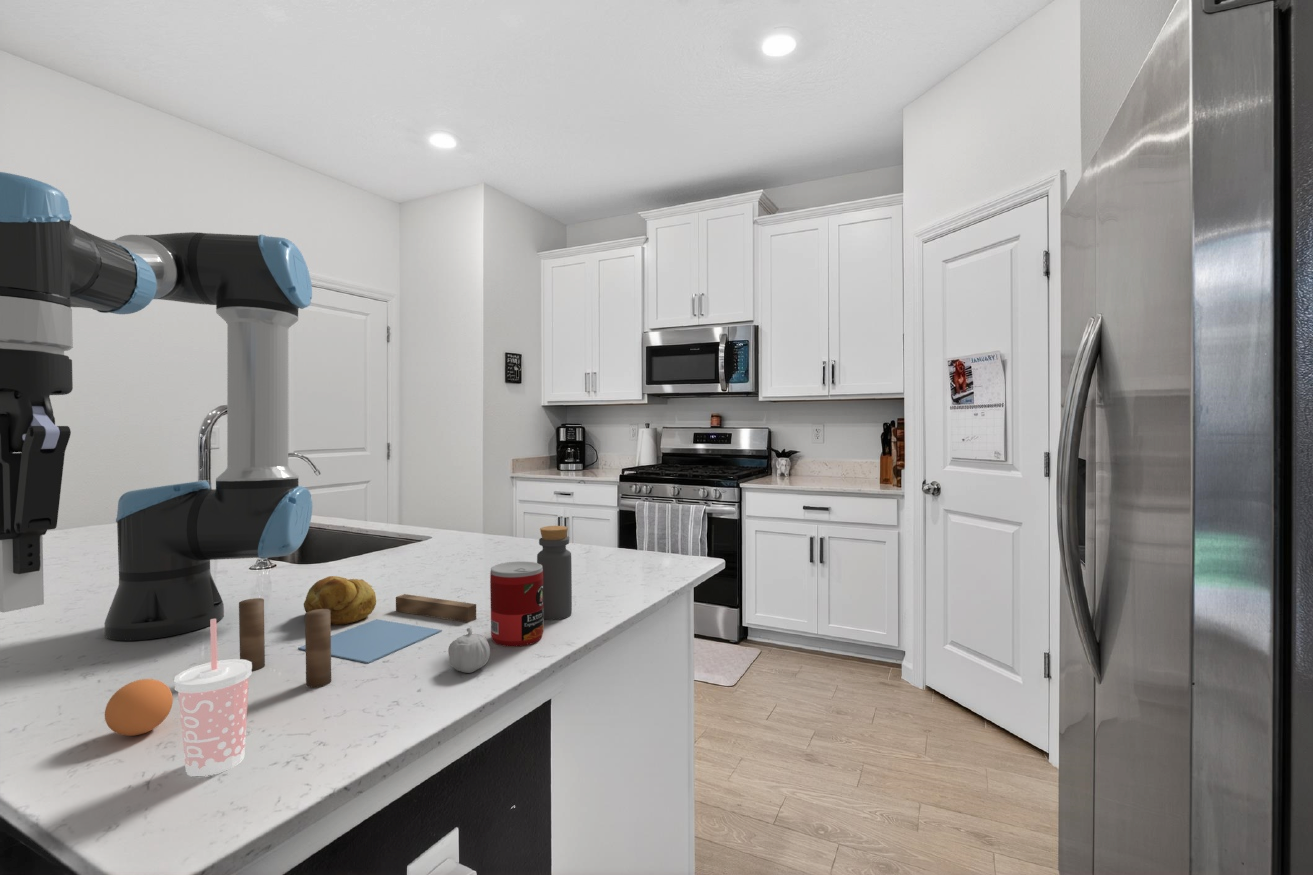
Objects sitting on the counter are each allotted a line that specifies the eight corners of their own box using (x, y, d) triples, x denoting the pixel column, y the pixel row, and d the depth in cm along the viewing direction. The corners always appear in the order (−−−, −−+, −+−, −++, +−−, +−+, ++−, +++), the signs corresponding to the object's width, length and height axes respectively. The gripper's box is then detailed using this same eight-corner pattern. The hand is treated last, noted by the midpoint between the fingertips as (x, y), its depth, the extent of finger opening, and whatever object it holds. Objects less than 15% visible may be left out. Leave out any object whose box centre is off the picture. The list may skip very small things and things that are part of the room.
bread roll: (290, 618, 102) (289, 572, 102) (346, 604, 110) (345, 561, 110) (330, 633, 95) (329, 582, 95) (387, 616, 103) (386, 570, 103)
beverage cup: (159, 773, 56) (156, 625, 56) (226, 741, 62) (224, 606, 62) (203, 787, 54) (200, 633, 54) (268, 753, 60) (266, 613, 60)
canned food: (531, 649, 87) (531, 574, 87) (481, 645, 89) (480, 571, 89) (551, 631, 95) (550, 562, 95) (504, 628, 97) (503, 560, 96)
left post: (235, 669, 80) (234, 602, 80) (256, 662, 83) (255, 597, 83) (248, 672, 79) (247, 605, 79) (269, 665, 82) (268, 599, 82)
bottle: (530, 617, 102) (529, 529, 101) (549, 607, 107) (548, 524, 107) (560, 621, 100) (559, 531, 99) (578, 611, 105) (577, 526, 105)
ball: (93, 739, 62) (92, 687, 62) (154, 716, 68) (153, 667, 67) (123, 750, 60) (122, 696, 60) (184, 725, 65) (183, 675, 65)
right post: (300, 685, 75) (299, 614, 75) (321, 676, 78) (320, 607, 78) (316, 689, 74) (315, 616, 74) (336, 680, 77) (335, 610, 77)
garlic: (457, 660, 84) (457, 622, 84) (496, 660, 83) (495, 623, 83) (440, 678, 78) (440, 638, 78) (482, 678, 77) (481, 638, 77)
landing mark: (298, 648, 88) (298, 647, 88) (376, 620, 101) (376, 619, 101) (368, 663, 82) (368, 661, 82) (441, 631, 95) (441, 629, 95)
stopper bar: (395, 611, 106) (395, 596, 106) (404, 607, 108) (404, 594, 107) (468, 622, 99) (468, 607, 99) (476, 618, 101) (476, 604, 101)
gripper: (-79, 349, 54) (-73, 610, 54) (-9, 340, 49) (-3, 628, 49) (33, 358, 61) (38, 590, 61) (105, 351, 56) (110, 604, 56)
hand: (20, 607), depth 55 cm, fingers closed
